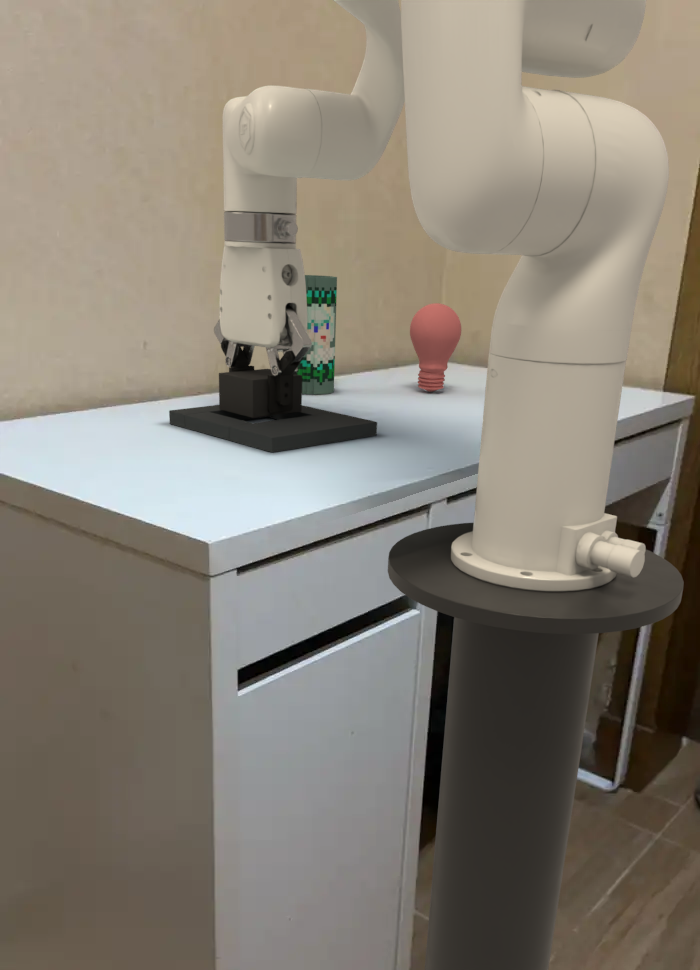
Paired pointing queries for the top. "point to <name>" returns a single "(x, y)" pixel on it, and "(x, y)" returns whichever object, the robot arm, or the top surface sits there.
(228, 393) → the black block
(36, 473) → the top surface
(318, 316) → the can
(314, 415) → the base pad
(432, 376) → the light bulb
